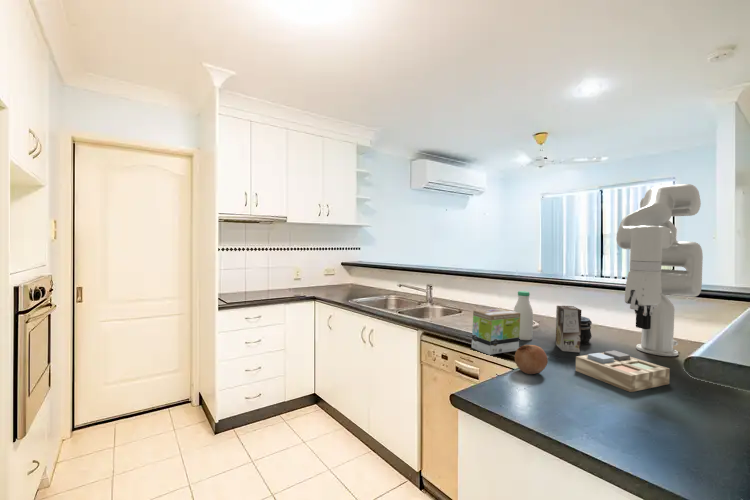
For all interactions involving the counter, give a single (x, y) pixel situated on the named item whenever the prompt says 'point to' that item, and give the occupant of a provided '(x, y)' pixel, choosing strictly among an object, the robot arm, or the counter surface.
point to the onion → (531, 359)
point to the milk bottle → (524, 315)
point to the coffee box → (568, 328)
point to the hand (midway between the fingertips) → (642, 328)
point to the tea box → (495, 331)
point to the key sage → (642, 366)
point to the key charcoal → (618, 355)
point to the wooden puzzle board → (624, 373)
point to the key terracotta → (625, 369)
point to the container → (585, 331)
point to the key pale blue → (601, 358)
